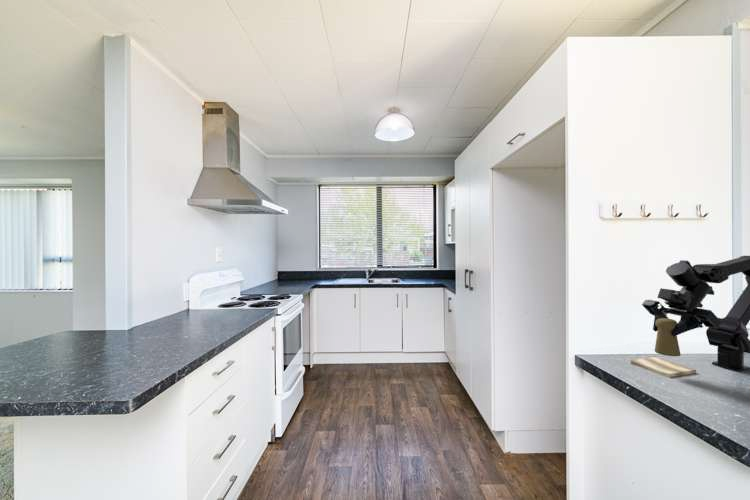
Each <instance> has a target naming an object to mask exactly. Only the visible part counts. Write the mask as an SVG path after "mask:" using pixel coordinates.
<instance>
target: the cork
mask: <svg viewBox="0 0 750 500" xmlns="http://www.w3.org/2000/svg"><path fill="white" fill-rule="evenodd" d="M668 318H669V317H668ZM668 318H659V319H657V320H656V326H657V327H658V331H656V332H657V333H656V340H655V346H654V352H655V353H656V354H658V355H662V356H666V357H680V356H681V350H680V345H679V340H678V335H676V336H672V335H671V333H672V331H673V329H674V328H675V326H676V325H677V324H678V322H677V320H675V319H674V318H673V319H672V318H669V319H668Z"/></svg>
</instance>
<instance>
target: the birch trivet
mask: <svg viewBox="0 0 750 500" xmlns="http://www.w3.org/2000/svg"><path fill="white" fill-rule="evenodd" d="M630 364H631V365H634V366H637V367H639V368H642V369H645V370H648V371H650V372H653V373H657V374H660V375H662V376H665V377H668V378H673V377H678V376H679V377H680V376H684V375H690V374H691V375H692V374H696V373H697V369H695V368H693V367H689V366H685V365H682V364H679V363H675V362H672V361H669V360H667V359H663V358H661V357H657V356H654V357H646V358H639V359H633V360H630Z"/></svg>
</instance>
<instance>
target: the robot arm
mask: <svg viewBox="0 0 750 500" xmlns="http://www.w3.org/2000/svg"><path fill="white" fill-rule="evenodd" d="M665 273H666V274H667V275H668V277H670V278H671V280H673V282H674V283H675V284H676V285H677V286H679V287H682V288H680V289H679V290H674V289H668V288H659V292H658V294H657V298H658V299H661V300H663V301H664V304H665V305H667V306H665V305H663V304H662V303H661V302H660V301H659V300H658V301H657V300H652V299H645V300H644V301H643V302H642V304H641V305H642V306H643V308H644V309H645V310H646V311H647V312H648V313H649V314H650V315H651V316H654V318H653V319H654V320H653V325H652V330H653V331H654V332H658V327H657V326H656V320H657V319H659V318H668V319H670V318H669V317H668V314H670V315H675V316H679V317H680V320H678V322H677V323H678V324H677V325H676V326H675V328H674V329H673V331H672V333H671V335H672V336H676V335H677V336H678V335H681V334H684V333H686V332H688V331H693V330H695V329H699V328H700V329H702V328H704V326H705V327H706V331H705V334H706V339H707V340H708V343H709V346H714V347H717V359H716V360H717V361H712V362H711V365H714V366H715V365H716V366H718V367H722V368H725V369H728V370H731V371H736V372H741V371H745V370H750V366H747V365H744V364H745V354H750V339H749V331H748V328H747V325H748V324H749V323H750V255H742V256H739V257H736V258H733V259H729V260H724V261H722V262H718V263H700V264H693V265H692V264H691V262H690V261H689V260H685V259H684V260H679V261H678V262H676V263H673V264H671V265H670V266H668V267H666V269H665ZM739 273H742V274H743V275H744V278H745V282H746V284H747V286H746V287H745V288H744V290H743V291H742V292H741V294H740V295H739V296H738V299H737V300H736V301H735V302H734V304H733V306H732V307H731V308H730V309H729V311H728V313H727V314H726V315H725V316H724V317H722V318H721V317H718V316H717V315H716V314H715V312H713V311H712V310H710V309H707V308H706V309H705V308H703V306H704V305H703V304H702V302H703V300H704V299H705V298H706V296H707V295H710V296H711V295H712V296H713V295H715V291H714V290H713V286H711V285H709V284H721V283H723V282H725V281H727V280H729V277H730V276H732V275H733V276H734V275H735V274H736V275H737V274H739ZM708 283H709V284H708Z"/></svg>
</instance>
